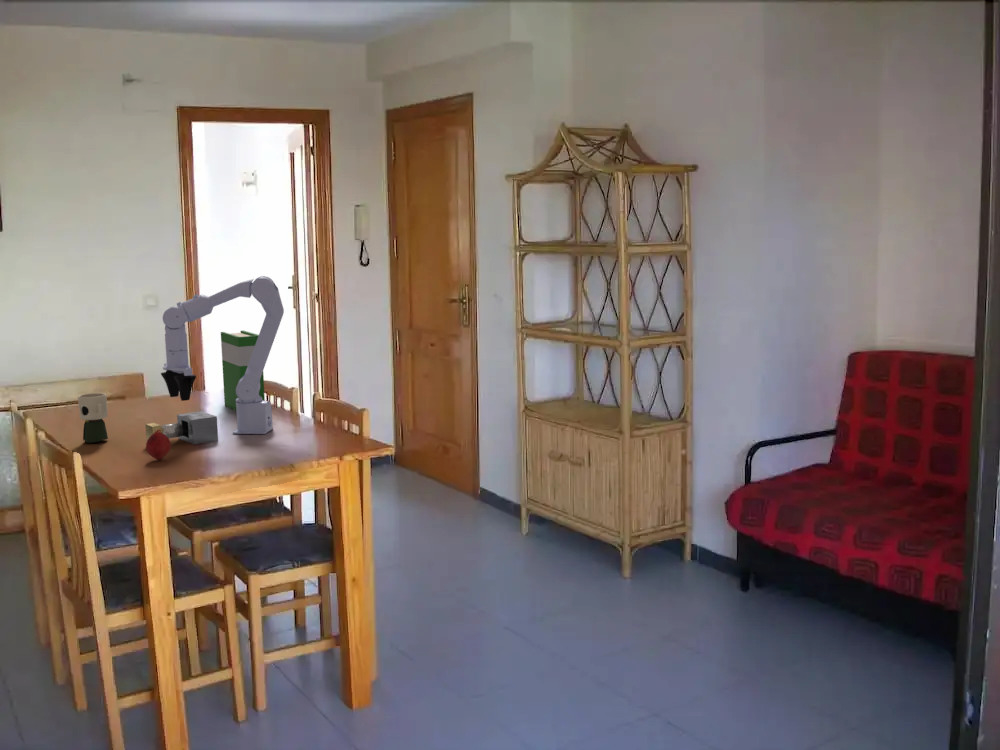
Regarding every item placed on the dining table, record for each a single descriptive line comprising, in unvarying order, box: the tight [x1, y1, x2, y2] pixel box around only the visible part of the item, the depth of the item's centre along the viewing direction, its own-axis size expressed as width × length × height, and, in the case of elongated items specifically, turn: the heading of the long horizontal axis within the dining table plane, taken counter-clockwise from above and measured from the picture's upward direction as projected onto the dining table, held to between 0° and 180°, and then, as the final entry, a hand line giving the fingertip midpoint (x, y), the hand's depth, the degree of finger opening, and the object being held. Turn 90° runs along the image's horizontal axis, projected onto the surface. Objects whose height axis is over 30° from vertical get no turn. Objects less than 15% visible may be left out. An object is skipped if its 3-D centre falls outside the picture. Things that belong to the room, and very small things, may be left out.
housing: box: [176, 410, 219, 445], centre depth 267 cm, size 7×10×7 cm
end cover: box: [145, 422, 183, 442], centre depth 261 cm, size 8×5×5 cm, turn 130°
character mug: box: [77, 392, 109, 444], centre depth 266 cm, size 11×7×13 cm, turn 43°
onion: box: [145, 429, 172, 461], centre depth 245 cm, size 6×6×8 cm
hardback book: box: [220, 330, 266, 412], centre depth 311 cm, size 18×7×24 cm, turn 33°
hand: (179, 398), depth 273 cm, fingers open, 7 cm apart
